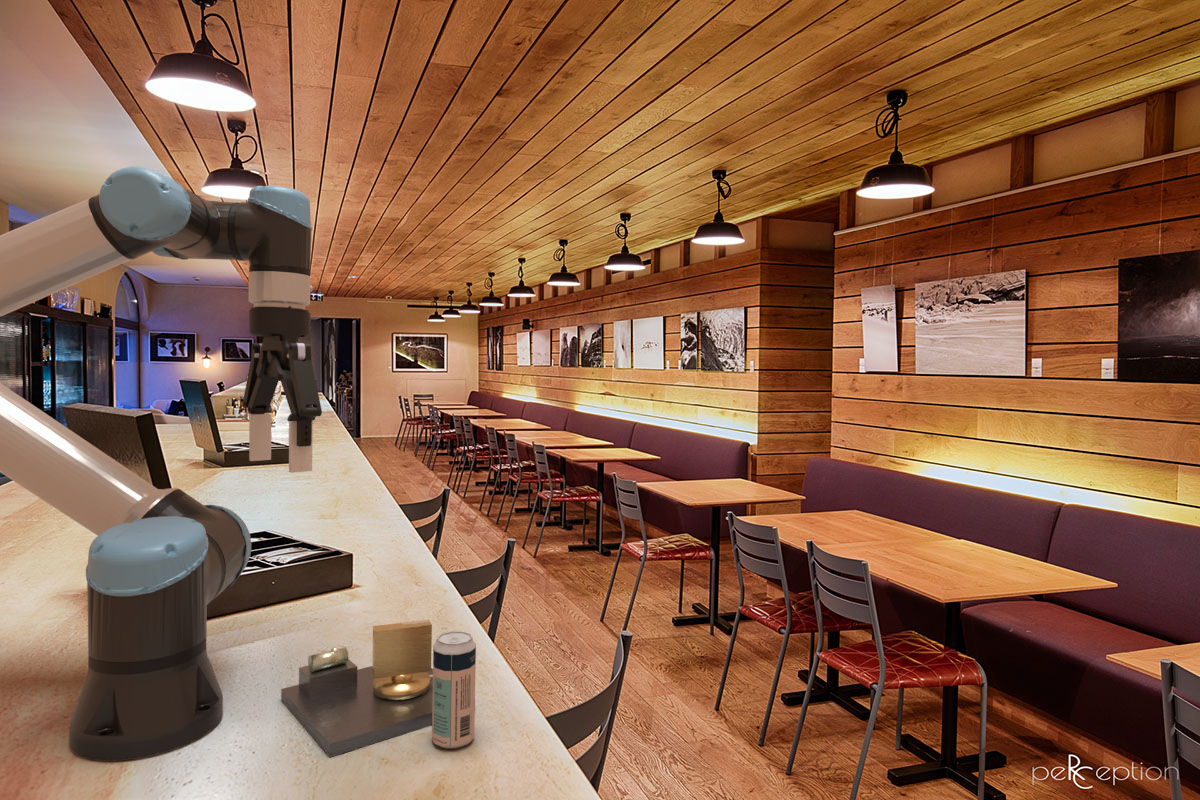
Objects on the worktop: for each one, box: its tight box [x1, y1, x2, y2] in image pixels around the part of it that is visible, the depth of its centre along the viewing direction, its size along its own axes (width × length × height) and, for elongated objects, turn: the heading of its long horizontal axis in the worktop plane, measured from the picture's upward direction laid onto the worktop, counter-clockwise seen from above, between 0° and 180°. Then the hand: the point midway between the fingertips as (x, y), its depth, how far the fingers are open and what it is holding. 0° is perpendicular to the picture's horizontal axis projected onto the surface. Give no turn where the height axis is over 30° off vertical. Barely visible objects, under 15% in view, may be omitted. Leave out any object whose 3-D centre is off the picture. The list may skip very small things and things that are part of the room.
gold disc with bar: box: [372, 619, 433, 700], centre depth 93 cm, size 7×9×8 cm
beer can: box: [431, 631, 477, 750], centre depth 83 cm, size 5×5×12 cm
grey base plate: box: [280, 646, 433, 758], centre depth 92 cm, size 18×17×6 cm
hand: (279, 465), depth 99 cm, fingers open, 13 cm apart
